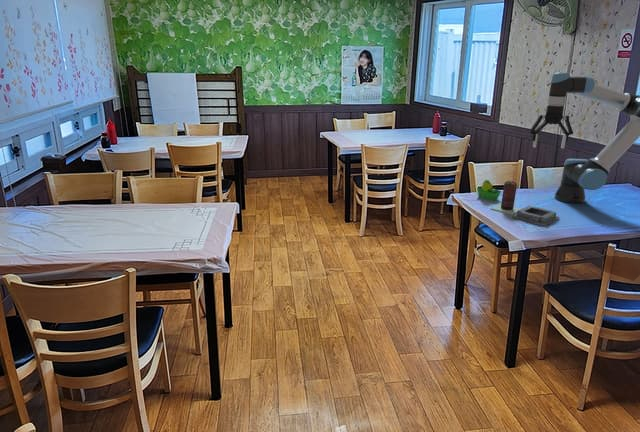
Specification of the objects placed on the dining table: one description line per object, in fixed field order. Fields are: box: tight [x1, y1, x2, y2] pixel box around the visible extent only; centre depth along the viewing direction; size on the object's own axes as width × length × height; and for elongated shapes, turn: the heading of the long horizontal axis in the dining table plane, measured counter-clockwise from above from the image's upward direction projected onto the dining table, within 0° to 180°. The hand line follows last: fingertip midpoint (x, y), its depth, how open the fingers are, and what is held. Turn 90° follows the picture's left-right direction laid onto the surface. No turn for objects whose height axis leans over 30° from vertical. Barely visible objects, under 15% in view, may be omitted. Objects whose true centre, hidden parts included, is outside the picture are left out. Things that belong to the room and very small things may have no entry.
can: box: [500, 180, 518, 210], centre depth 235 cm, size 6×6×14 cm
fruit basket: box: [476, 179, 502, 202], centre depth 254 cm, size 11×9×11 cm
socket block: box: [511, 205, 560, 227], centre depth 224 cm, size 16×16×4 cm
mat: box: [490, 203, 522, 216], centre depth 237 cm, size 12×12×1 cm
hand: (548, 147), depth 232 cm, fingers open, 13 cm apart
